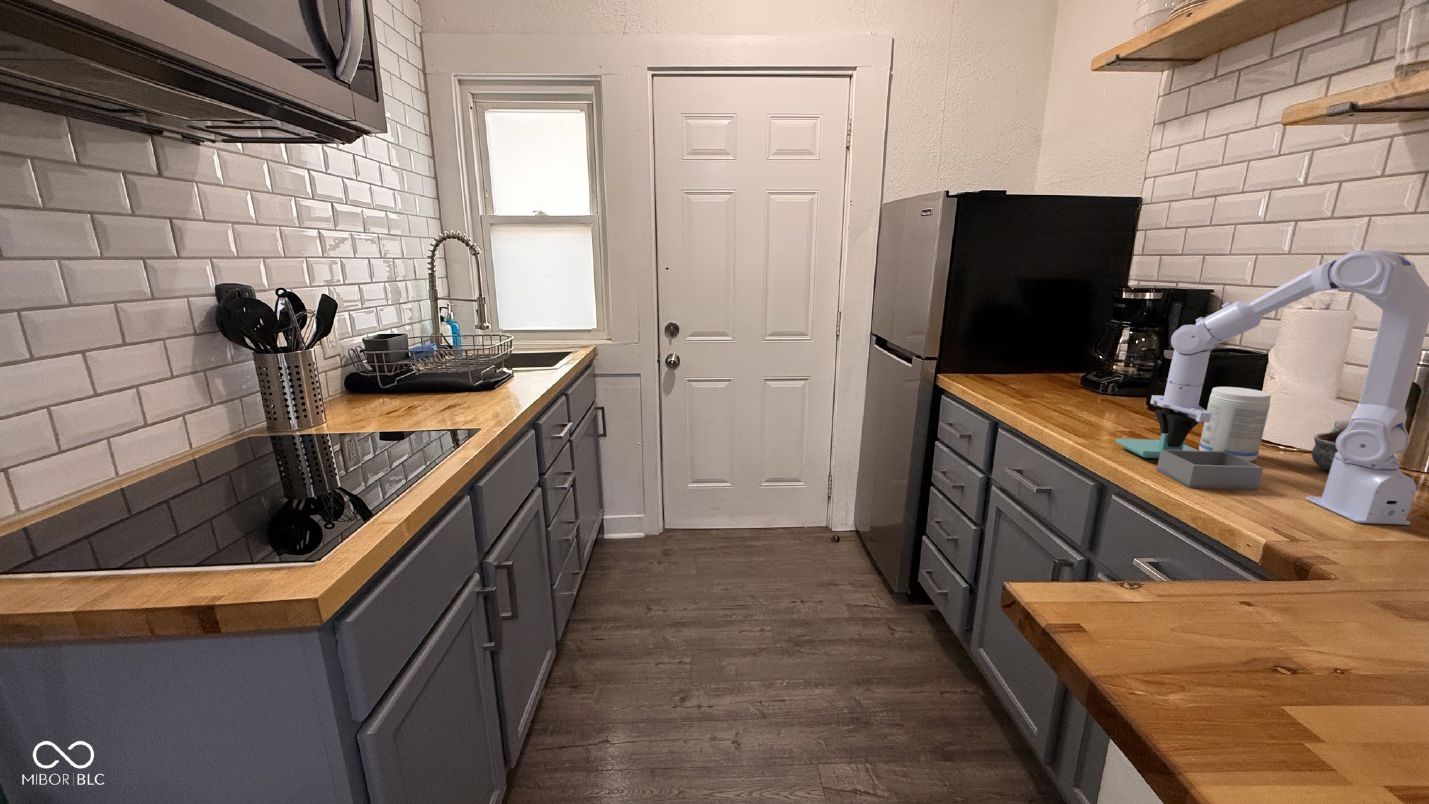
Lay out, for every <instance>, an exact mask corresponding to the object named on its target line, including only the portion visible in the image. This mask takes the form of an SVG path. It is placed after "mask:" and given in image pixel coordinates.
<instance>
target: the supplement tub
mask: <svg viewBox="0 0 1429 804" xmlns="http://www.w3.org/2000/svg"><path fill="white" fill-rule="evenodd" d="M1271 398H1272V394H1271V393H1269V392H1266V391H1263V390H1258V389H1252V388H1246V387H1245V388H1244V387H1236V386H1235V387H1234V386H1216V387H1213V388H1212V389H1211V393H1210V395H1209V399H1208V403H1207V408H1206V411H1208V412H1210V413H1212V415H1211V419H1210V422H1203V423H1204V424H1203V427H1202V432H1201V436H1200V442H1199V445H1198V450H1199V451H1225V452H1227V453H1229V454H1232V455H1234V456H1237V457H1239V458H1241V459H1244V460H1246V461H1248V462H1251V463H1252V462H1254V461H1255V460H1257V458H1258V455H1259V452H1260V448H1261V443H1262V440H1263V436H1264V431H1265V426H1266V423H1267V419H1268V416H1269V415H1268V414H1269V411H1270V406H1271Z"/></svg>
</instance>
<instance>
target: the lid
mask: <svg viewBox="0 0 1429 804" xmlns="http://www.w3.org/2000/svg"><path fill="white" fill-rule="evenodd" d="M1159 437H1160V438H1159V439H1147V438H1146V439H1144V438H1141V439H1139V438H1117V437H1116V438H1115V443H1117V444H1120V446H1121V445H1122V446H1123V448H1124V449H1126V450H1128V451H1130V452H1132V453H1134V454H1136V455H1137V456H1140V457H1143V458H1144V459H1146V458H1148V459H1159V457H1160V452H1161V449H1163V450H1195V451H1200V450H1199V449H1196V448H1194V447H1191V446H1190V445H1186V444H1185V440H1186V438H1185V439H1184V441H1183V443H1182V445H1181V446H1180V447H1169V446H1168V444H1167V440H1168V434H1167V433H1161V432H1160V436H1159Z"/></svg>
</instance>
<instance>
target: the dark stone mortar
mask: <svg viewBox="0 0 1429 804" xmlns="http://www.w3.org/2000/svg"><path fill="white" fill-rule="evenodd" d="M1349 422H1350V419H1338V420H1336V421H1335V422H1334V426H1333V428H1332V429H1331V430H1330V431H1328V432H1321V433H1317V434H1315V435H1314V437H1313V439H1314V442H1315V443H1314V444H1315V445H1314V446H1313V448H1312V450H1311V459H1312V460H1313V463H1315V464H1316V465H1317V466H1318V467H1319V468H1321V470H1324V471H1327V472H1328V473H1329V472H1330V469H1331V466H1332V463H1333V459H1334V456H1335V453H1337V452H1338V450H1337V448H1336V439H1337V437H1338V436H1339V435H1340V434H1341V433H1342V432H1343V431H1344V430H1345V429H1346V428H1347V427H1348V425H1349Z"/></svg>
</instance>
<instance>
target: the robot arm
mask: <svg viewBox="0 0 1429 804" xmlns="http://www.w3.org/2000/svg"><path fill="white" fill-rule="evenodd" d="M1342 289H1344V290H1346V291H1349V292H1351V293H1355V294H1358V295H1361V296H1364V298H1366V299H1367V300H1369V301H1370V302H1371V303H1373V304H1374V305H1376V306H1377V307H1378V308H1379V309H1381V310H1382V314H1381V316H1380V317H1381V318H1380V322H1379V326H1378V329H1377V332H1376V333H1377V334H1376V337H1375V340H1374V345H1373V348H1372V352H1371V356H1370V360H1369V364H1368V367H1367V372H1366V375H1365V379H1364V383H1363V385H1362V386H1363V387H1362V390H1361V394H1360V398H1359V402H1358V405H1357V406H1356V409H1355V410H1354V412H1353V413H1352V415H1351V417H1350V419H1349V421H1350V422H1349V425H1348V427H1347V428H1346V429H1345V430H1344V431H1343V432H1342V433H1341V434H1340V435H1339V436H1338V437H1337V439H1336V448H1337V450H1338V452H1337V453H1335V456H1334V459H1333V463H1332V466H1331V469H1330V472H1329V471H1328V476H1327V480H1326V483H1325V486H1324V490H1323V492H1322V495H1321V496H1305V500H1307V501H1309V502H1312V503H1313V504H1316V505H1318V506H1320V507H1322V508H1323V509H1324V508H1325V509H1327V510H1329V511H1331V512H1333V513H1336V514H1338V515H1340V516H1342V517H1345V518H1347V519H1349V520H1350V521H1351V520H1352V521H1354V522H1356V523H1360V524H1377V525H1378V524H1379V525H1380V524H1382V525H1385V524H1386V525H1404V526H1405V525H1406V526H1407V525H1409V526H1410V524H1411V521H1409V520H1407V517H1408V516H1409V512H1410V510H1411V506H1412V504H1413V502H1414V497H1415V495H1416V493H1417V484H1416V482H1415V480H1414V479H1413V478H1411V477H1410V476H1408V475H1406V474H1404V473H1403V472H1402V471H1401V469H1400V467H1401V463H1400V462H1399V460H1398V458H1397V456H1395V455H1398V454H1400V453H1401V452H1403V451H1405V449H1407V448H1408V446H1409V443H1410V436H1409V433H1408V431H1407V429H1406V421H1407V418H1408V416H1407V412H1406V404H1407V401H1408V398H1409V394H1410V390H1411V387H1412V384H1413V379H1414V378H1415V377H1414V376H1415V373H1416V369H1417V365H1418V361H1419V358H1420V354H1421V351H1422V348H1423V344H1424V342H1425V341H1424V340H1425V338H1426V334H1427V330H1428V327H1429V286H1428V284H1427V283H1426V281H1425V280H1424V279H1423V277H1422V275H1420V273H1419V272H1418V270H1417V268H1416V265H1415V262H1413V261H1411V259H1410V260H1409V259H1408V258H1406V257H1404V256H1402V255H1401V254H1399V253H1396V252H1395V251H1391V250H1387V249H1386V250H1385V249H1384V250H1383V249H1382V250H1370V249H1362V250H1361V249H1359V250H1354V251H1350V252H1348V253H1346V254H1344V255H1343V256H1341V257H1340V258H1338V259H1332V260H1330V261H1327V262H1325V263H1322V264H1320V265H1318V266H1316V267H1314V268H1312V269H1310V270H1308V271H1306V272H1303V273H1302V274H1301V275H1298V276H1296V277H1294V278H1293V279H1291V280H1289V281H1287V282H1285V283H1284V284H1281V285H1280V286H1278V287H1276V288H1275V289H1273V290H1270V291H1268V292H1266V293H1265V294H1263V295H1262V296H1260V297H1258V298H1256V299H1254V300H1252V301H1245V300H1236V301H1235V302H1232V301H1228V302H1226V303H1224V304H1221V307H1222V308H1221V309H1219V310H1217V311H1216V312H1215V311H1214V312H1213V313H1211V314H1210V315H1207V316H1205V317H1203V316H1200V317H1198V318H1196V319H1195V324H1184V325H1182V326H1180V327H1179V328H1178V329H1176V330H1175V331H1174V332H1173V333H1172V335H1171V337H1170V345H1171V347H1172V348H1173V354H1172V359H1171V362H1170V367H1169V371H1168V377H1167V381H1166V385H1165V391H1164V395H1161V394H1160V395H1157V394H1155V395H1153V394H1152V395H1151V399H1150V404H1151V405H1156V406H1158V407H1160V408H1161V409H1157V410H1155V411H1154V414H1155V417H1156V419H1157V420H1158V424H1159V429H1160V434H1161V433H1167V434H1168V440H1167V444H1168V446H1169V447H1180V446H1181V445H1182V443H1183V441H1184V442H1185V440H1186V437H1187V436H1188V435H1189V433H1190V432H1191V431H1192V430H1193V429H1194V428H1195V427H1196V426H1197V425H1198V424H1200V423H1204V422H1210V419H1211V415H1212V413H1210V412H1208V411H1207V409H1204V408H1203V407H1202V406H1200V404H1199V403H1200V399H1201V395H1202V390H1203V386H1204V383H1205V378H1206V374H1207V368H1208V364H1209V359H1210V354H1211V351H1212V350H1214V349H1216V347H1217V346H1218V345H1219V344H1222V343H1224V342H1226V341H1228V340H1230V339H1232V338H1235V337H1237V336H1239V335H1241V334H1243V333H1245V332H1249V331H1250V330H1252V329H1255V328H1257V327H1259V325H1260V324H1261V321H1262V319H1263V317H1264V316H1265V315H1268V314H1270V313H1272V312H1274V311H1277V310H1279V309H1282V308H1284V307H1286V306H1288V305H1290V304H1292V303H1295V302H1297V301H1299V300H1302V299H1304V298H1306V297H1309V296H1311V295H1313V294H1316V293H1319V292H1322V291H1335V290H1342ZM1184 439H1185V440H1184Z"/></svg>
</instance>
